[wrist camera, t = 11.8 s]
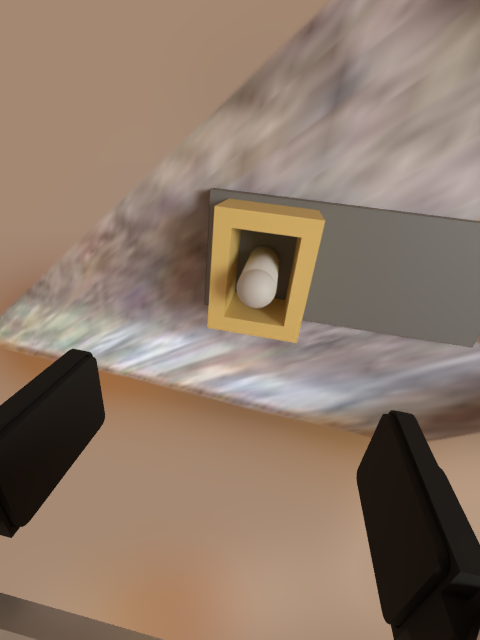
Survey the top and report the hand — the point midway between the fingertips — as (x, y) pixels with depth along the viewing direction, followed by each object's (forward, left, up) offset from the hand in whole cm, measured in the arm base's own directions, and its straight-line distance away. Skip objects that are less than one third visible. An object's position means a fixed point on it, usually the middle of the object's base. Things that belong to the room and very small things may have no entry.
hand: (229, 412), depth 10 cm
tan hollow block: (0, 0, -18) cm, 18 cm away
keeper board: (-7, 0, -19) cm, 20 cm away
